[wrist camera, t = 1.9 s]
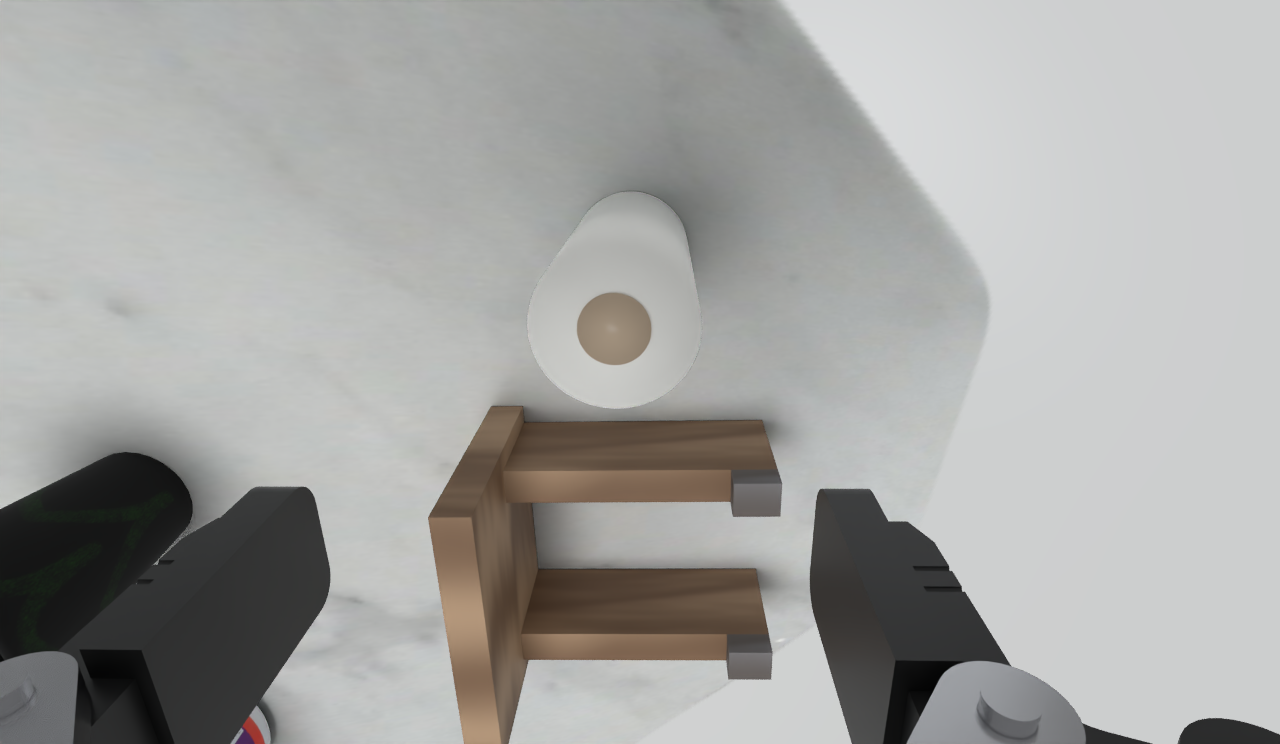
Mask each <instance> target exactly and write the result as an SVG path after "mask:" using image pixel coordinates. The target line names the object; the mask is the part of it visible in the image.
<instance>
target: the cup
mask: <svg viewBox="0 0 1280 744" xmlns="http://www.w3.org/2000/svg"><path fill="white" fill-rule="evenodd" d="M191 516H192V501H191V498H190V495H189V492H188V490H187V488H186V487H185V485H184V483H183V482H182V480H181V479H180V478H179V477H178V476H177V475H176V474H175V473H174V472H173V471H172V470H171V469H169V468H168V467H167V466H165V465H164V464H163V463H161V462H159V461H157V460H155V459H153V458H151V457H148V456H144V455H141V454H137V453H127V452H125V453H117V454H112V455H110V456H107V457H105V458H103V459H101V460H99V461H97V462H95V463H93V464H91V465H89V466H87V467H85V468H83V469H81V470H79V471H76V472H74V473H72V474H70V475H68V476H66V477H64V478H62V479H60V480H58V481H56V482H54V483H52V484H50V485H48V486H46V487H44V488H42V489H40V490H38V491H36V492H34V493H32V494H30V495H28V496H26V497H24V498H22V499H20V500H18V501H16V502H14V503H12V504H10V505H8V506H6V507H4V508H2V509H0V662H3V661H5V660H8V659H11V658H15V657H18V656H22V655H26V654H31V653H36V652H44V651H56V652H57V651H58V650H59V649H60V648H61V647H63V646H64V645H65V644H66V643H67V642H68V641H69V640H70V639H71V638H73V637H74V636H75V635H76V634H77V633H78V632H79V631H80V630H81V629H83V628H84V627H85V626H86V625H87V624H88V623H89V622H90V621H91V620H93V619H94V618H95V617H96V616H97V615H98V614H99V613H100V612H101V611H103V610H104V609H105V608H106V607H107V606H108V605H109V604H110V603H111V602H113V601H114V600H115V599H116V598H117V597H118V596H119V595H120V594H121V593H123V592H124V591H125V590H126V589H127V588H128V587H129V586H130V585H131V584H136V583H137V579H138V578H139V577H140V576H142V575H143V574H144V573H145V572H146V571H147V570H148V569H149V568H150V567H152V565H153V564H154V563H155V562H156V561H157V560H158V559H159V558H160V557H161V555H162V554H163V553H164V552H165V551H166V550H167V549H168V548H169V547H170V545H171V544H172V543H173V542H174V541H175V540H176V539H177V538H178V537H179V536H180V534H181V533H182V532H183V531H184V530H185V528H186V527H187V526H188V524H189V523H190V520H191Z"/></svg>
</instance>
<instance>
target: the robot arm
mask: <svg viewBox="0 0 1280 744" xmlns="http://www.w3.org/2000/svg"><path fill="white" fill-rule="evenodd" d="M329 587H330V566H329V562H328V557H327V552H326V548H325V543H324V538H323V534H322V529H321V525H320V520H319V515H318V511H317V506H316V502H315V498H314V496H313V494H312V492H311V491H310V490H309V489H308V488H306V487H255V488H253V489H251V490H250V491H249V492H248V493H247V494H246V495H245V496H243V497H242V498H241V499H240V500H239V501H238V502H237V503H236V504H235V505H234V506H233V507H232V508H231V509H229V510H228V511H227V512H226V513H225V514H224V515H223V516H222V517H221V518H218V519H216V520H214V521H212V522H210V523H209V524H207V525H205V526H203V527H202V528H200V529H198V530H196V531H194V532H193V533H191V534H189V535H187V536H185V537H184V538H183V539H182V540H180V541H179V542H178V543H177V544H176V545H175V546H174V547H173V548H172V549H170V550H169V551H168V552H167V553H166V554H165V555H164V556H163V557H162V558H160V559H159V563H158V565H153V566H152V567H150V568H149V569H148V570H147V571H146V572H145V573H144V574H143V575H142V576H140V577H139V578H138V579H137V584H131V585H130V586H129V587H128V588H127V589H126V590H125V591H124V592H123V593H121V594H120V595H119V596H118V597H117V598H116V599H115V600H114V601H113V602H111V603H110V604H109V605H108V606H107V607H106V608H105V609H104V610H103V611H101V612H100V613H99V614H98V615H97V616H96V617H95V618H94V619H93V620H91V621H90V622H89V623H88V624H87V625H86V626H85V627H84V628H83V629H81V630H80V631H79V632H78V633H77V634H76V635H75V636H74V637H73V638H71V639H70V640H69V641H68V642H67V643H66V644H65V645H64V646H63V647H61V648H60V649H59V650H58V651H57V652H56V651H44V652H36V653H31V654H26V655H22V656H18V657H15V658H11V659H8V660H5V661H3V662H0V744H231V742H232V741H233V739H234V738H235V736H236V735H237V733H238V732H239V730H240V729H241V728H242V726H243V725H244V723H245V722H246V720H247V719H248V717H249V716H250V714H251V713H252V711H253V710H254V708H255V707H256V705H257V704H258V703H259V701H260V700H261V698H262V697H263V695H264V694H265V692H266V691H267V689H268V688H269V686H270V685H271V683H272V682H273V680H274V679H275V677H276V676H277V675H278V673H279V672H280V670H281V669H282V667H283V666H284V664H285V663H286V661H287V660H288V658H289V657H290V655H291V654H292V652H293V651H294V649H295V648H296V647H297V645H298V644H299V642H300V641H301V639H302V638H303V636H304V635H305V633H306V632H307V630H308V629H309V627H310V626H311V624H312V623H313V622H314V620H315V619H316V617H317V616H318V614H319V613H320V611H321V610H322V608H323V606H324V604H325V602H326V599H327V596H328V592H329ZM810 593H811V602H812V608H813V613H814V617H815V620H816V624H817V627H818V630H819V634H820V637H821V641H822V644H823V647H824V651H825V654H826V657H827V660H828V664H829V668H830V671H831V674H832V677H833V681H834V684H835V688H836V691H837V695H838V698H839V701H840V705H841V708H842V711H843V715H844V718H845V721H846V725H847V728H848V732H849V735H850V738H851V742H852V744H1151V743H1147V742H1143V741H1140V740H1136V739H1132V738H1128V737H1124V736H1121V735H1117V734H1112V733H1108V732H1105V731H1102V730H1099V729H1096V728H1093V727H1090V726H1087V725H1085V724H1083V723H1082V722H1081V719H1080V717H1079V716H1078V714H1077V713H1076V711H1075V710H1074V708H1073V707H1072V706H1071V705H1070V704H1069V702H1068V701H1067V700H1066V699H1065V698H1064V697H1063V696H1062V695H1061V694H1059V693H1058V692H1057V691H1056V690H1055V689H1053V688H1052V687H1051V686H1049V685H1048V684H1047V683H1045V682H1043V681H1042V680H1040V679H1038V678H1037V677H1035V676H1033V675H1031V674H1029V673H1027V672H1025V671H1023V670H1020V669H1017V668H1014V667H1012V666H1011V665H1010V664H1009V662H1008V661H1007V659H1006V657H1005V655H1004V654H1003V652H1002V651H1001V649H1000V647H999V646H998V644H997V643H996V641H995V639H994V638H993V636H992V635H991V633H990V631H989V630H988V628H987V627H986V625H985V623H984V622H983V620H982V618H981V617H980V615H979V614H978V612H977V610H976V609H975V607H974V606H973V604H972V603H971V601H970V599H969V598H968V596H967V594H966V593H965V592H962V586H961V585H960V583H959V582H958V580H957V578H956V577H955V575H954V573H953V572H952V571H949V565H948V564H947V562H946V561H945V559H944V557H943V556H942V554H941V552H940V551H939V549H938V548H937V546H936V544H935V543H934V542H933V541H932V540H930V539H929V538H928V537H927V536H925V535H924V534H923V533H922V532H920V531H919V530H918V529H916V528H915V527H914V526H912V525H911V524H910V523H908V522H888V520H887V518H886V516H885V515H884V513H883V511H882V509H881V507H880V505H879V503H878V502H877V500H876V498H875V496H874V494H873V493H872V491H871V490H870V489H820V490H819V492H818V495H817V500H816V510H815V521H814V533H813V544H812V556H811V567H810ZM1178 744H1280V735H1279V734H1277V733H1274V732H1272V731H1269V730H1267V729H1264V728H1261V727H1258V726H1255V725H1252V724H1249V723H1245V722H1241V721H1236V720H1230V719H1222V718H1212V719H1211V718H1208V719H1202V720H1198V721H1195V722H1193V723H1191V724H1189V725H1188V726H1187V727H1186V728H1184V730H1183V732H1182V734H1181V735H1180V738H1179V741H1178Z"/></svg>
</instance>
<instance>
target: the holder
mask: <svg viewBox="0 0 1280 744" xmlns="http://www.w3.org/2000/svg"><path fill="white" fill-rule="evenodd" d="M781 494H782V482H781V479H780V475H779V472H778V469H777V466H776V463H775V460H774V456H773V453H772V450H771V447H770V444H769V441H768V438H767V434H766V431H765V428H764V425H763V422H762V420H724V421H622V422H524V415H523V406H500V407H491V408H490V409H489V411H488V413H487V415H486V417H485V418H484V420H483V422H482V424H481V425H480V427H479V429H478V431H477V432H476V434H475V436H474V438H473V439H472V441H471V443H470V445H469V446H468V448H467V450H466V452H465V454H464V455H463V457H462V459H461V461H460V462H459V464H458V466H457V468H456V469H455V471H454V473H453V475H452V476H451V478H450V480H449V482H448V483H447V485H446V487H445V489H444V491H443V492H442V494H441V496H440V498H439V499H438V501H437V503H436V505H435V506H434V508H433V510H432V512H431V513H430V515H429V517H428V520H429V526H430V533H431V539H432V545H433V551H434V558H435V564H436V570H437V576H438V583H439V589H440V595H441V602H442V608H443V614H444V620H445V627H446V633H447V639H448V645H449V652H450V658H451V664H452V671H453V677H454V683H455V689H456V696H457V702H458V708H459V714H460V721H461V727H462V733H463V740H464V744H508V743H509V739H510V735H511V731H512V727H513V722H514V718H515V714H516V710H517V706H518V702H519V698H520V693H521V689H522V685H523V681H524V677H525V673H526V668H527V664H528V660H726V662H727V671H728V679H771V669H772V648H771V643H770V638H769V633H768V628H767V623H766V618H765V613H764V608H763V603H762V598H761V593H760V589H759V584H758V579H757V574H756V569H538V563H537V552H536V542H535V531H534V521H533V510H532V503H558V502H731V508H732V514H733V517H771V516H780V512H781Z"/></svg>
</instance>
